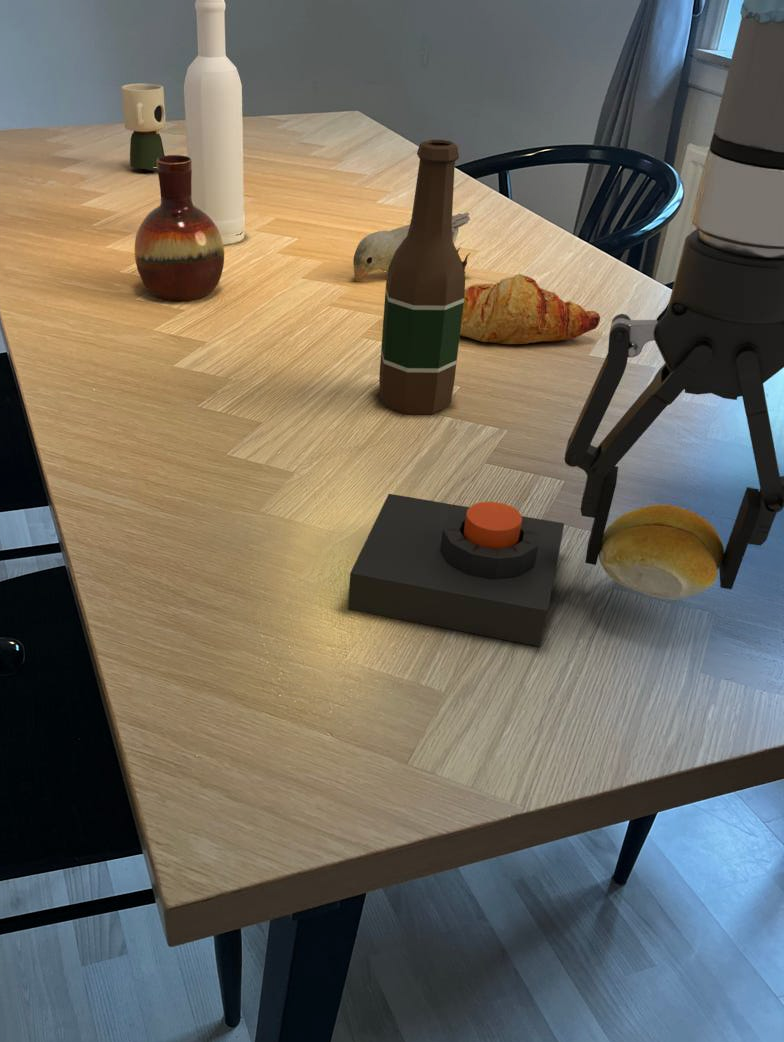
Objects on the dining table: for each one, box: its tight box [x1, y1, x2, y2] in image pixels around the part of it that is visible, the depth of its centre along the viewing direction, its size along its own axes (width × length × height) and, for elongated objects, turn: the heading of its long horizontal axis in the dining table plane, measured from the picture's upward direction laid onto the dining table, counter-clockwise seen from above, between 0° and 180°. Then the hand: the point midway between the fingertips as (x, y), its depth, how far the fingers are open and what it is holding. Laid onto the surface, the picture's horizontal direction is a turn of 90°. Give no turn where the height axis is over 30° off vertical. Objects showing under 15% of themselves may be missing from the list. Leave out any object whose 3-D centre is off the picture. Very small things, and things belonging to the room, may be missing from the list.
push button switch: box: [347, 493, 565, 647], centre depth 73 cm, size 14×12×5 cm
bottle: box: [183, 0, 246, 246], centre depth 133 cm, size 8×8×30 cm
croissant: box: [460, 273, 601, 345], centre depth 113 cm, size 21×10×8 cm, turn 79°
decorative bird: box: [352, 212, 471, 282], centre depth 128 cm, size 5×16×8 cm, turn 109°
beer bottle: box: [378, 139, 466, 415], centre depth 93 cm, size 8×8×24 cm
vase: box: [134, 154, 225, 302], centre depth 120 cm, size 11×11×15 cm
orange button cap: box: [464, 501, 523, 549], centre depth 71 cm, size 4×4×2 cm
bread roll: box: [598, 504, 725, 601], centre depth 69 cm, size 8×9×4 cm
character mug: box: [121, 83, 166, 173], centre depth 169 cm, size 11×7×13 cm, turn 177°
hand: (657, 565), depth 70 cm, fingers closed on bread roll, 8 cm apart
